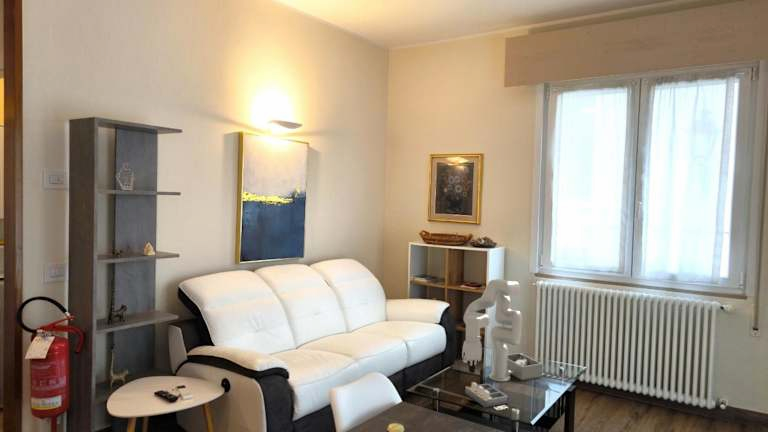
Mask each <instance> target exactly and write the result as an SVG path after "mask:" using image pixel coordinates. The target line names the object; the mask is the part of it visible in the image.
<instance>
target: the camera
mask: <svg viewBox="0 0 768 432" xmlns="http://www.w3.org/2000/svg"><path fill="white" fill-rule="evenodd" d="M520 353H521V354H520V356H521V357H519V358H518V360H517V361H516V362H515V363H517V364H519V365H521V366H528V360H527V358H524V357H523V356H522V354H524V353H523V352H520Z"/></svg>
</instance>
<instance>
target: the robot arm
mask: <svg viewBox="0 0 768 432" xmlns="http://www.w3.org/2000/svg"><path fill="white" fill-rule="evenodd" d="M520 290H521V286H520V284H519V282H518V281H516V280H508V279H507V280H506V279H499V278H498V279H497V278H496V279H491V280H489V282H488V283H487V285H486V287H485V288H484V291H483V294H482V295H481V297H479V298H477V299H475V300H474V301H472V302H471V303H470V304H469V305H468V306H467V308H466V310H465V312H464V315H463V322H464V324H465V340H463V344H462V351H461V357H462V362H463V363H465V364H468V372H469V373H471V374H474V373H476V365H477V364H478V362H480V361H482V355H483V350H482V349H483V348H482V342H481V339H482V335H481V329H484V328H487V327H489V325H490V322H491V318H490V316H489V315H488V314H487V313H480V312H478V311H480V310H485V309H489V308H493V307H494V306H495V314H494V321H495V322H496V323H497V324H499V325H495V326H493V327H492V328H491V330H490V336H491V373H489V375H488V377H489V379H490V380H492V381H495V382H508V381H510V380H511V375H512V374H514V370H512V371H510V370H508V355H509V348H508V345H512V346H517V345H519V344H520V343H521V335H522V325H523V324H522V323H523V315H522V313H521V311H519V310H516V309H511V302H512V301H511V297H516V296H517V295H519V293H520ZM500 324H501V325H504V326H501V325H500ZM508 326H511V327H508Z"/></svg>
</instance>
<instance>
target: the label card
mask: <svg viewBox="0 0 768 432" xmlns="http://www.w3.org/2000/svg"><path fill="white" fill-rule="evenodd" d="M506 408H507V409H509V407H508V406H507V405H505V404H501V405H496V406H493V409H495V410H496V411H503V410H506Z"/></svg>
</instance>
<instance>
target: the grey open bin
mask: <svg viewBox="0 0 768 432" xmlns="http://www.w3.org/2000/svg"><path fill="white" fill-rule="evenodd" d="M521 353H522V352H517V353H508V370H510V371H512V370H514V374H511V375H512V376H514V377H516V378H518V379H519V380H521V381H525V380H530V379H535V378H536V379H537V378H542V377H543V363H542V362H540V361H538V360H536V359H533V358H532V357H529V356H528V355H525V354H524V353H523V354H522V356H523V357H524V358H527V360H528V366H521V365H519V364H517V363H515V362H516V361H517V360H518V358H519V357H521V356H520V354H521Z"/></svg>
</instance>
